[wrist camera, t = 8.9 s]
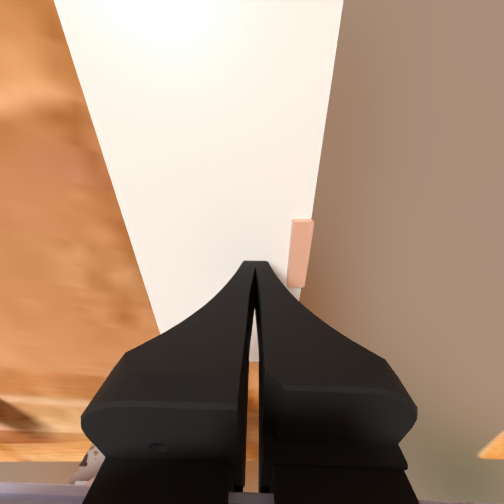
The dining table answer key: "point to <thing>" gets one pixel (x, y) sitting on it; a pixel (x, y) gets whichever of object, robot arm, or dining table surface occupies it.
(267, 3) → the duct lid
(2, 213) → the dining table surface
